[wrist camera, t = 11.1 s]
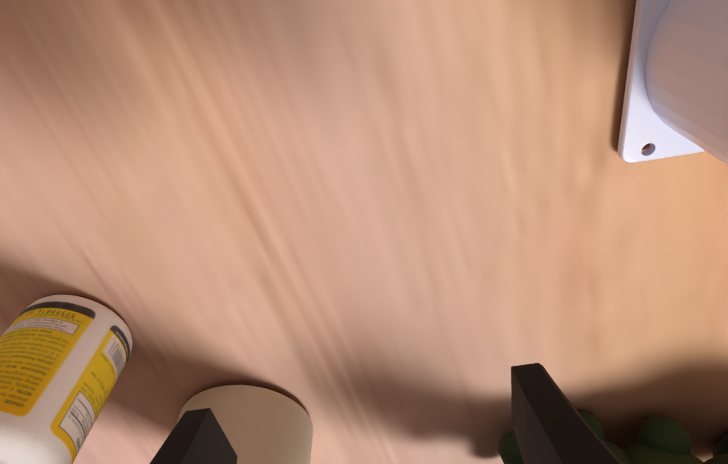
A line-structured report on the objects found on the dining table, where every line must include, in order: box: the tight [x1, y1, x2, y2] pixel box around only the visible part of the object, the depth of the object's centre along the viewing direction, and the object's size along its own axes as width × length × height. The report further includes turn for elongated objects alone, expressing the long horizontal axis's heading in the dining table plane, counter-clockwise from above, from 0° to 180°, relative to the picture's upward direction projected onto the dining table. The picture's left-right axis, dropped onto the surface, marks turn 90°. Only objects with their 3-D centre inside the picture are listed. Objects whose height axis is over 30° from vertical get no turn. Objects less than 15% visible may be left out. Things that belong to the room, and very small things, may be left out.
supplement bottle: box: [0, 295, 133, 464], centre depth 20 cm, size 5×5×10 cm
